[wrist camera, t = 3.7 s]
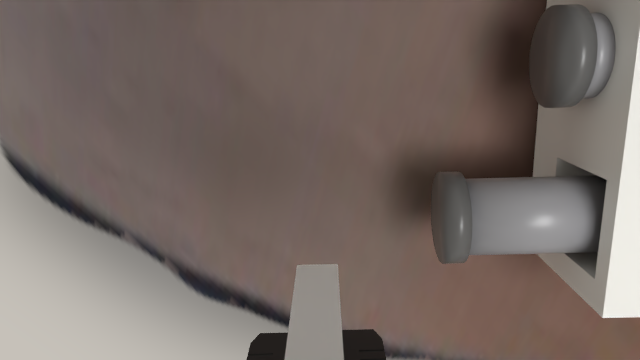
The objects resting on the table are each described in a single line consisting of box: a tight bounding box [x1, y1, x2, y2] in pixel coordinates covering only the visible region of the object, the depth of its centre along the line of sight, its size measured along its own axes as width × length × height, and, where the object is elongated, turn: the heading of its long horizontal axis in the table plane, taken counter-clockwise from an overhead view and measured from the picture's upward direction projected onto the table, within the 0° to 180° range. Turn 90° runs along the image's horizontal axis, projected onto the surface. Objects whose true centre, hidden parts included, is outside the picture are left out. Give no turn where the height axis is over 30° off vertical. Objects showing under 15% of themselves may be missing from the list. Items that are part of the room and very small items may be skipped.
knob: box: [431, 171, 607, 264], centre depth 25 cm, size 5×9×5 cm, turn 92°
